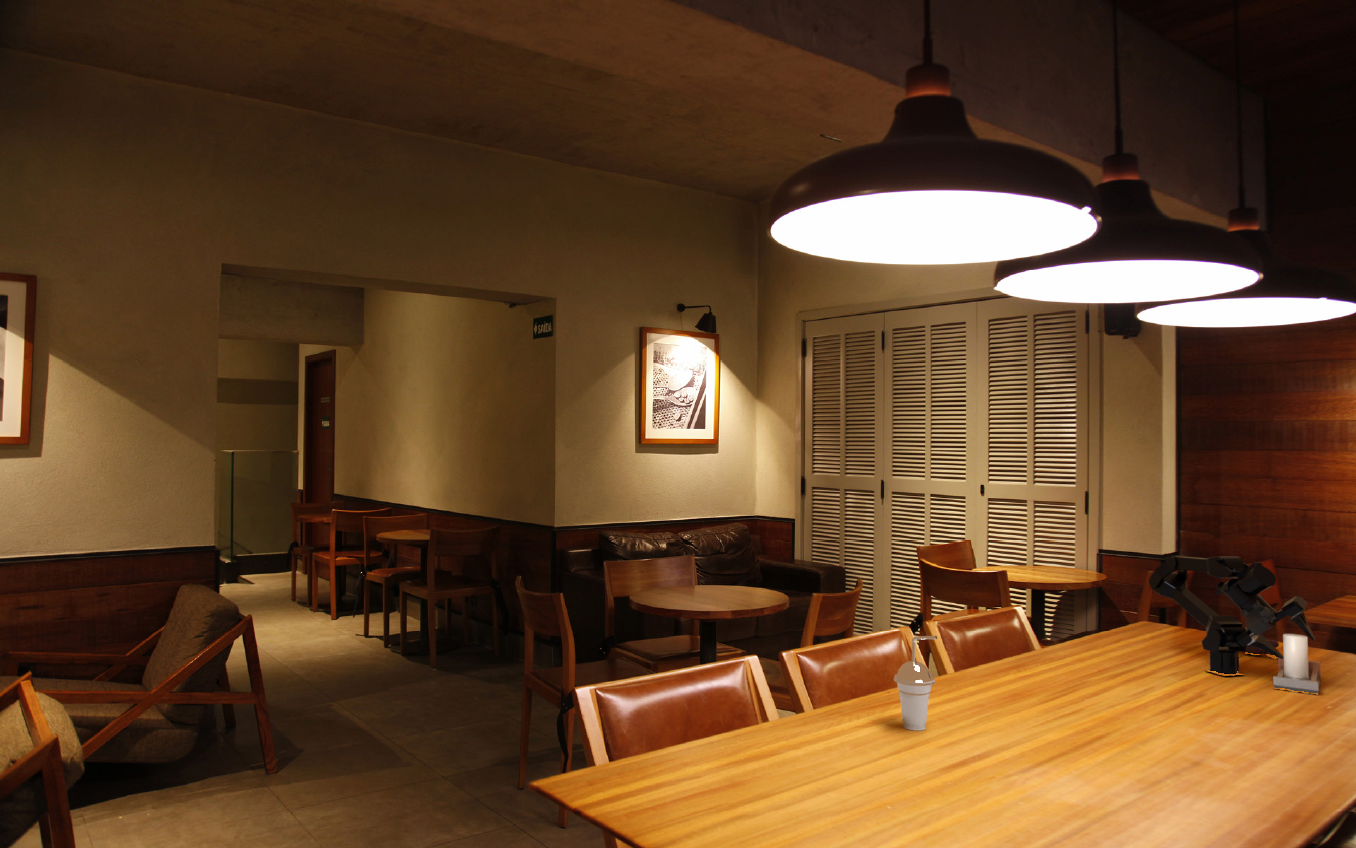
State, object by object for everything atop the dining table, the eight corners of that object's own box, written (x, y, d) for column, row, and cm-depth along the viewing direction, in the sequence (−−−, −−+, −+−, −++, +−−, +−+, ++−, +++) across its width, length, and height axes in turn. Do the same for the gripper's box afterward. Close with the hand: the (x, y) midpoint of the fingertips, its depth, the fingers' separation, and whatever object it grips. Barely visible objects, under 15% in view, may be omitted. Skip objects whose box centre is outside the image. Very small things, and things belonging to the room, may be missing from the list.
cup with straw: (918, 719, 188) (918, 627, 189) (945, 732, 180) (944, 635, 181) (885, 723, 185) (885, 630, 186) (911, 736, 177) (911, 638, 178)
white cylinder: (1308, 687, 213) (1307, 638, 213) (1283, 684, 216) (1282, 635, 216) (1309, 683, 217) (1307, 635, 217) (1284, 680, 220) (1283, 632, 220)
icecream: (1216, 631, 258) (1272, 644, 245) (1228, 622, 262) (1284, 635, 249) (1217, 652, 259) (1273, 667, 247) (1229, 643, 263) (1285, 657, 250)
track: (1318, 695, 210) (1317, 676, 210) (1273, 689, 215) (1273, 671, 216) (1320, 678, 226) (1320, 661, 227) (1279, 673, 232) (1278, 656, 232)
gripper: (1210, 629, 225) (1260, 679, 219) (1271, 589, 214) (1325, 641, 208) (1221, 615, 233) (1269, 663, 227) (1280, 576, 222) (1333, 625, 216)
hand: (1298, 649), depth 219 cm, fingers open, 9 cm apart
